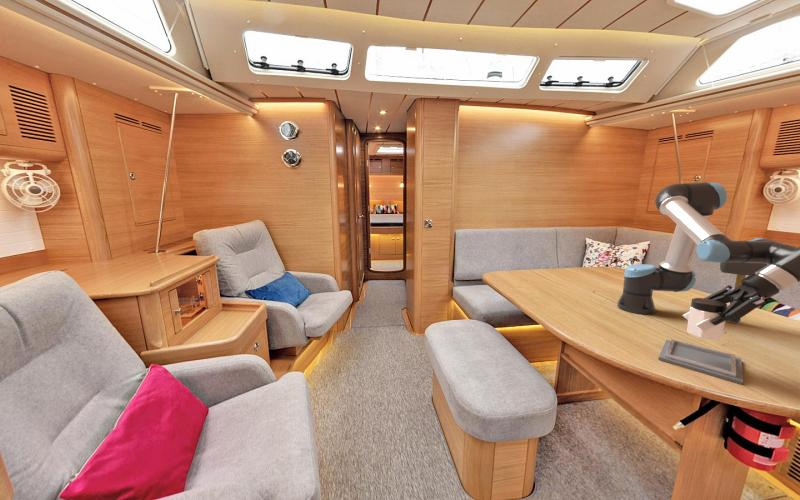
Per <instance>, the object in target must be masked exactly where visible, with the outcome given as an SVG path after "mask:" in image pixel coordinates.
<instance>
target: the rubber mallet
mask: <svg viewBox="0 0 800 500" xmlns="http://www.w3.org/2000/svg"><path fill="white" fill-rule="evenodd" d="M767 265H768V264H766V263H741V262H720V263H719V270H720V272H721V273H723V274H731V275H736V278H735V284H734V288H736V287H738V286H741V285H742V283H741V280H742V279H744V278H746V277H747V276H749V275H751V274H755V272H756V271H758V270H760V269H761V268H763V267H765V266H767ZM731 303H732V302H729V305H730V304H731ZM734 317H735V316H734ZM728 322H729V323H732V324H739V323H740V322H741V318H740V319H739V320H737V321H735V322H732V321H731V320H729V321H728Z"/></svg>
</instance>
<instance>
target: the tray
mask: <svg viewBox="0 0 800 500" xmlns="http://www.w3.org/2000/svg"><path fill="white" fill-rule="evenodd" d="M670 341H671V342H670V345H669V347H668V349H667V352H666V355H665V357H666V358H670V359H673V360H677V361H680V362H684V363H687V364H690V365H694V366H697V367H701V368H704V369H708V370H711V371H715V372H718V373H722V374H725V375H729V376H732V377H736V360H735V357H736V355H735V354H732V353H728V352H723V351H720V350H716V349H711V348H707V347H704V346H700V345H695V344H692V343H689V342H688V343H687V342H683V341H679V340H676V339H671V340H670ZM674 344H676V345H680V346H684V347H688V348H692V349H696V350H700V351H704V352H707V353H711V354H715V355H719V356H723V357H727V358H730V371H728V370H725V369H721V368H718V367H714V366H710V365H707V364H703V363H700V362H696V361H693V360H689V359H685V358H682V357H678V356H675V355H671V352H672V349H673V346H674Z"/></svg>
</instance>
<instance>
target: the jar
mask: <svg viewBox="0 0 800 500" xmlns="http://www.w3.org/2000/svg"><path fill="white" fill-rule="evenodd" d="M727 306H728V303H724V302H721V301H717V300H712V299H706V297H695V298H691V303H690V307H689V311H688V312H689V319H688V320H687V325H686V326H687V327H686V328H687V329H686V333H687V334H690V335H693V336H695V337H698V338H700V339H705V340H712V341H721V339H722V338H723V336H724V330H725V326H726V321H724V322H722V323H720V324H718V325H716V326H714V327H712V328H710V329H708V330H706V331H702V330H701V329H700V328H699V327H698V326H697V325H696V324H698V323H700V322H701V321H703V320H705V319H707V318H709V317H711V316H712V315H714V314H716V313H717V312H722V311H723V310H724V309H725V308H726V307H727ZM717 314H718V313H717ZM718 315H719V314H718Z"/></svg>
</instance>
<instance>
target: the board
mask: <svg viewBox="0 0 800 500" xmlns="http://www.w3.org/2000/svg"><path fill="white" fill-rule="evenodd" d="M670 342H671V340H669V339H666V340H665V341H664V345H663V346H662V349H661V352H660V353H659V355H658V360H659V361H662V362H666V363H669V364H670V365H671V364H672V365H675V366H679V367H682V368H686V369H688V370H692V371H695V372H699V373H701V374H702V373H703V374H706V375H708V376H712V377H715V378H719V379H722V380H725V381H730V382H732V383H735V384H738V385H743V384H744V377H743V375H744V374H743V363H742V358H740V357H737V356H735V360H736V377H732V376H729V375H725V374H722V373H718V372H715V371H711V370H708V369H704V368H701V367H697V366H694V365H690V364H687V363H684V362H680V361H677V360H673V359H670V358H666V357H665V355H666V352H667V349H668V347H669V345H670ZM671 355H675V356H678V357H682V358H685V359H689V360H693V361H696V362H700V363H703V364H707V365H710V366H714V367H718V368H721V369H725V370H728V371H730V358H727V357H723V356H719V355H715V354H711V353H707V352H704V351H700V350H696V349H692V348H688V347H684V346H680V345H676V344H674V346H673V349H672V352H671Z"/></svg>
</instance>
